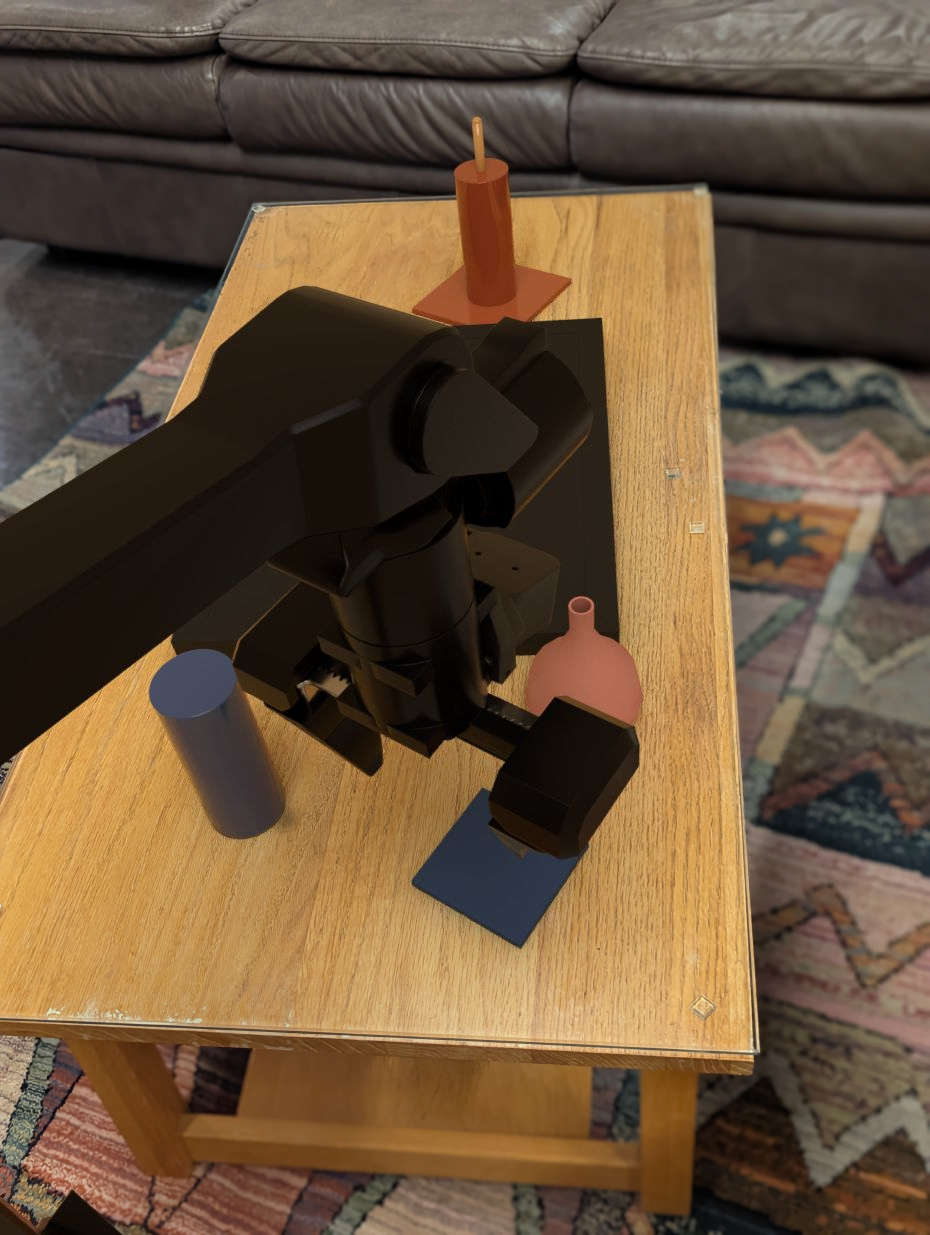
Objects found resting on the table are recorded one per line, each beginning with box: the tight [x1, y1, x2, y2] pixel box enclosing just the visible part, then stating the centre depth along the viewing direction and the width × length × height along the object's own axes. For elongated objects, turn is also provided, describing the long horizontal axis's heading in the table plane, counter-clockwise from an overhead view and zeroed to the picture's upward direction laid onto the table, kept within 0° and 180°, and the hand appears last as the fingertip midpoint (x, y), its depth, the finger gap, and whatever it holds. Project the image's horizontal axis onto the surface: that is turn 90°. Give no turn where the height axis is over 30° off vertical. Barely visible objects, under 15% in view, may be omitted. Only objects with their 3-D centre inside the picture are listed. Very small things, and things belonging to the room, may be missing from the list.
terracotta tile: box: [411, 263, 572, 326], centre depth 112 cm, size 12×12×1 cm
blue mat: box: [410, 787, 590, 950], centre depth 67 cm, size 8×8×1 cm
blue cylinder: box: [148, 649, 287, 840], centre depth 67 cm, size 5×5×13 cm
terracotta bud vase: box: [524, 597, 644, 726], centre depth 69 cm, size 8×8×12 cm
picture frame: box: [170, 317, 621, 661], centre depth 92 cm, size 40×2×33 cm
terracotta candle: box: [453, 116, 517, 306], centre depth 105 cm, size 5×5×18 cm
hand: (446, 808), depth 54 cm, fingers open, 9 cm apart
